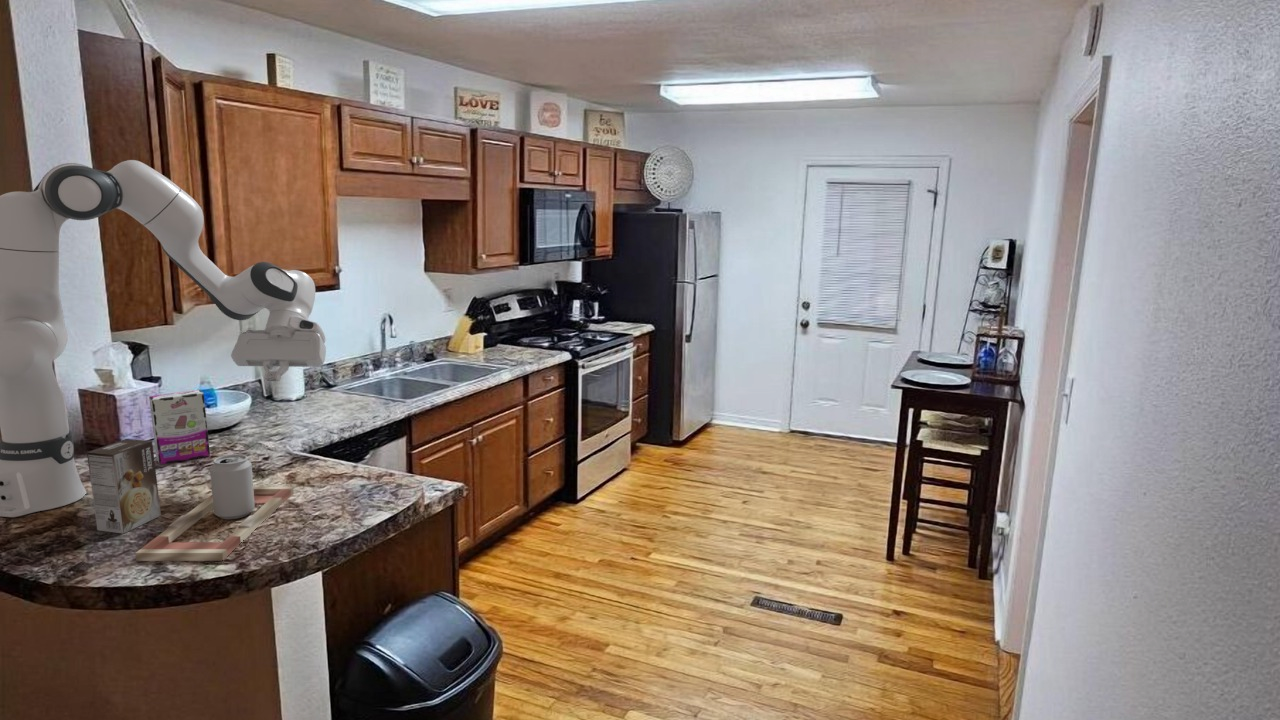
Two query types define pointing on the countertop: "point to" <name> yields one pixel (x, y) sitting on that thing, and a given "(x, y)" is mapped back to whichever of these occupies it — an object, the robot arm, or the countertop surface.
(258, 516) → the flat rectangular frame
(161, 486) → the countertop surface
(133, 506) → the coffee box
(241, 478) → the can
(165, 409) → the candy bar box
